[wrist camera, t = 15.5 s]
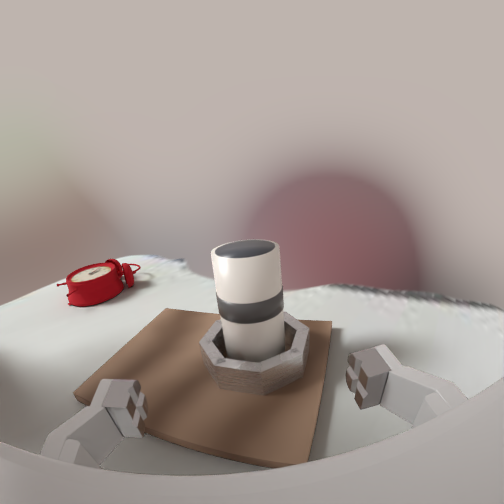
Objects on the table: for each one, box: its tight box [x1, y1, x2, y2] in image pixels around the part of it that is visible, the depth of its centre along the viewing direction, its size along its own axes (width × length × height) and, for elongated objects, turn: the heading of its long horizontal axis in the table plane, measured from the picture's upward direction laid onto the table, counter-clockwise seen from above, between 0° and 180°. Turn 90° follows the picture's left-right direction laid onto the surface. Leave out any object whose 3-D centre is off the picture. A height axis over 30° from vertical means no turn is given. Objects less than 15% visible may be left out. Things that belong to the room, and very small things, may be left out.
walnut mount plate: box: [73, 308, 332, 468], centre depth 24 cm, size 20×17×1 cm
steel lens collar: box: [199, 312, 309, 396], centre depth 24 cm, size 9×9×2 cm
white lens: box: [211, 240, 285, 363], centre depth 23 cm, size 5×5×10 cm
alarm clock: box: [57, 259, 141, 306], centre depth 44 cm, size 10×6×15 cm
